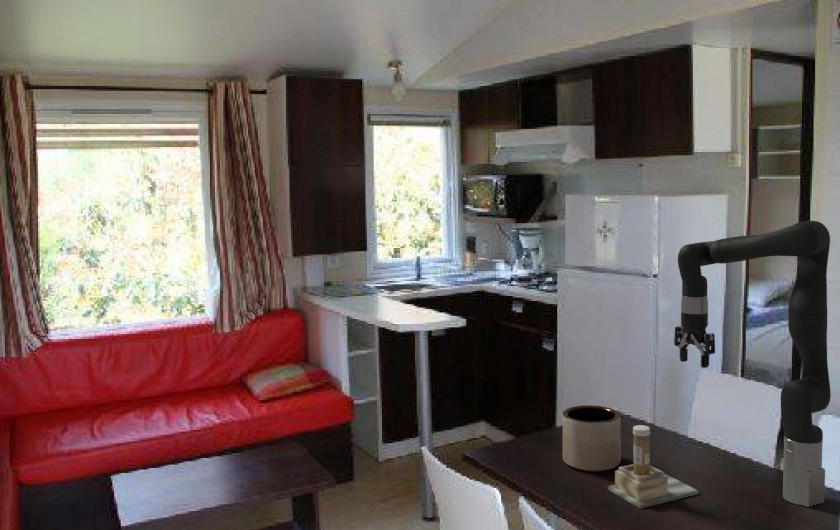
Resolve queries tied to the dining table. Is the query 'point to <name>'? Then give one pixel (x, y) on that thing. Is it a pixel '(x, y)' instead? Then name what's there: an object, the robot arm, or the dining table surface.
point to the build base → (672, 493)
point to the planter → (591, 438)
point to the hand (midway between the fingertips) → (694, 364)
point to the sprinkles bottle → (641, 450)
